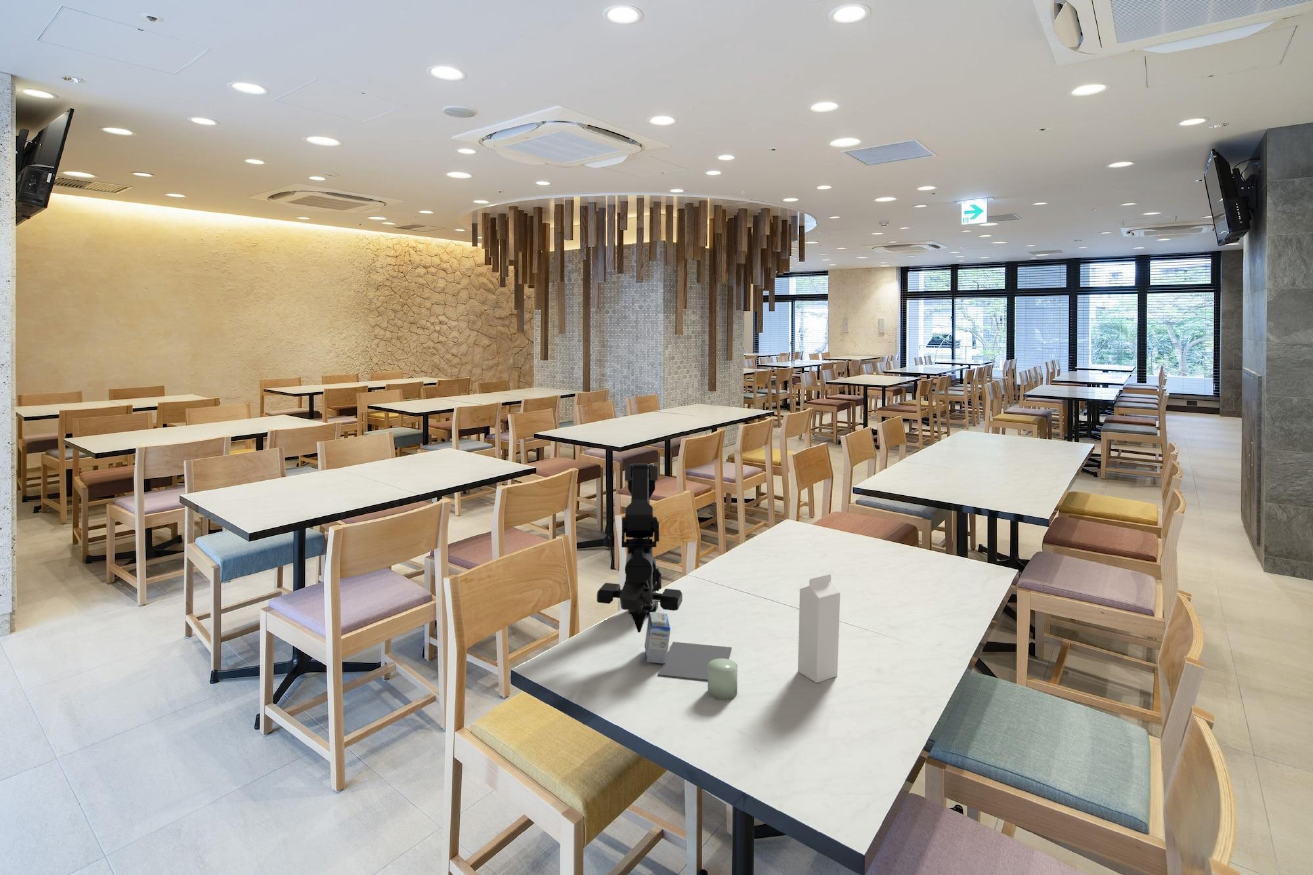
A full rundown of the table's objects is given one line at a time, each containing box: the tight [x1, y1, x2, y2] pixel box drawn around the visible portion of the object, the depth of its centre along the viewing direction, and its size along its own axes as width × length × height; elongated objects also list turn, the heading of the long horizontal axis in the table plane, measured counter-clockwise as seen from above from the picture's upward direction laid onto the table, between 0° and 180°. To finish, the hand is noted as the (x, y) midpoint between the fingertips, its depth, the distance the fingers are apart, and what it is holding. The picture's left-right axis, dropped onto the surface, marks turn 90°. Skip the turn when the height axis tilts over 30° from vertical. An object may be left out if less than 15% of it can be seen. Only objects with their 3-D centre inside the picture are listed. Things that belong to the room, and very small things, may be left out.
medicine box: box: [644, 611, 671, 664], centre depth 156 cm, size 8×4×9 cm, turn 5°
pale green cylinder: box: [707, 658, 738, 701], centre depth 141 cm, size 6×6×6 cm
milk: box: [797, 573, 841, 684], centre depth 147 cm, size 6×6×22 cm
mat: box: [657, 641, 732, 682], centre depth 155 cm, size 14×16×1 cm
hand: (639, 631), depth 157 cm, fingers closed
